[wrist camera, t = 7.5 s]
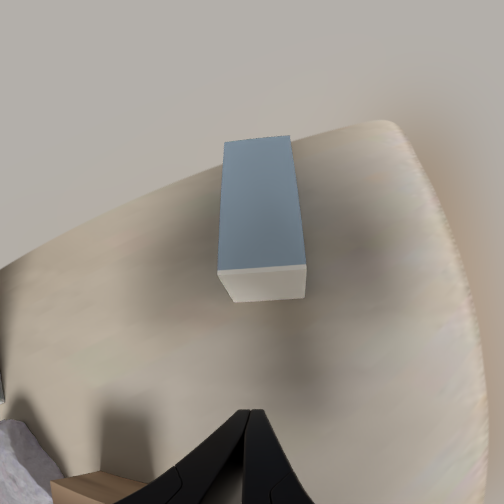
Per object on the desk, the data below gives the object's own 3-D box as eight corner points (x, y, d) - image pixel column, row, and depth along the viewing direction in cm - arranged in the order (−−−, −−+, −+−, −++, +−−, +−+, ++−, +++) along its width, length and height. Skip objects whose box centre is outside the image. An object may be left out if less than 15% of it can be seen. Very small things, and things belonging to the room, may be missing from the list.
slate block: (306, 269, 16) (289, 135, 21) (217, 275, 17) (224, 142, 22) (304, 298, 21) (292, 177, 26) (234, 302, 21) (235, 183, 26)
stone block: (92, 487, 17) (20, 409, 19) (65, 505, 12) (-13, 413, 14) (53, 534, 13) (-8, 468, 15) (31, 550, 9) (-34, 474, 11)
